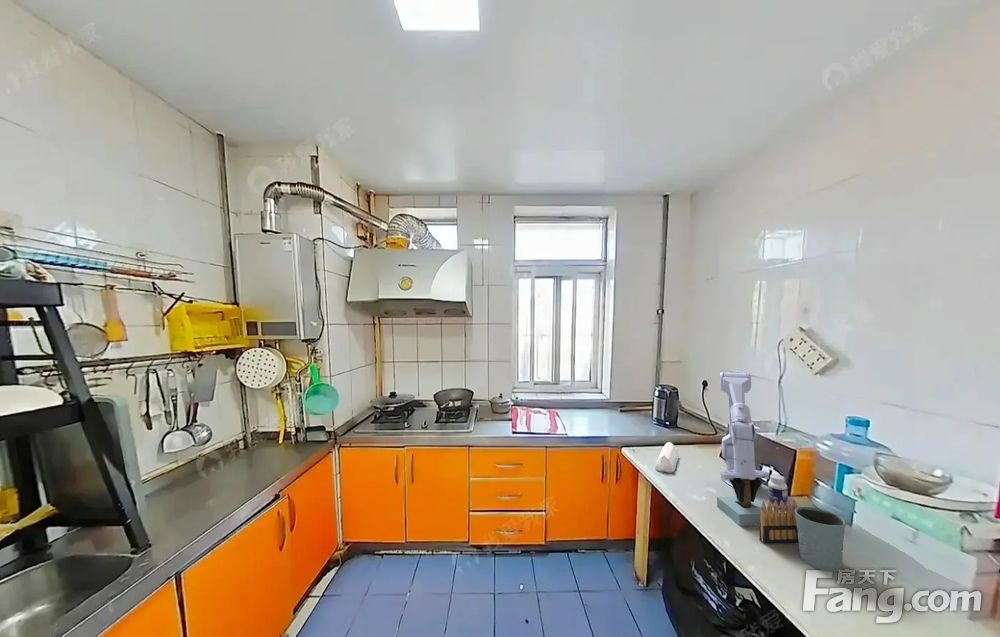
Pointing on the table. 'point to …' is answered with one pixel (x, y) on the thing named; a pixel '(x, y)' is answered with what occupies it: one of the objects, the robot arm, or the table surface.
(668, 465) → the crystal
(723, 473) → the robot arm
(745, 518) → the socket block
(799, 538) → the grey plant pot
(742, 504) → the walnut peg
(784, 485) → the pill bottle
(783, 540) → the ammunition clip
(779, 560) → the table surface
